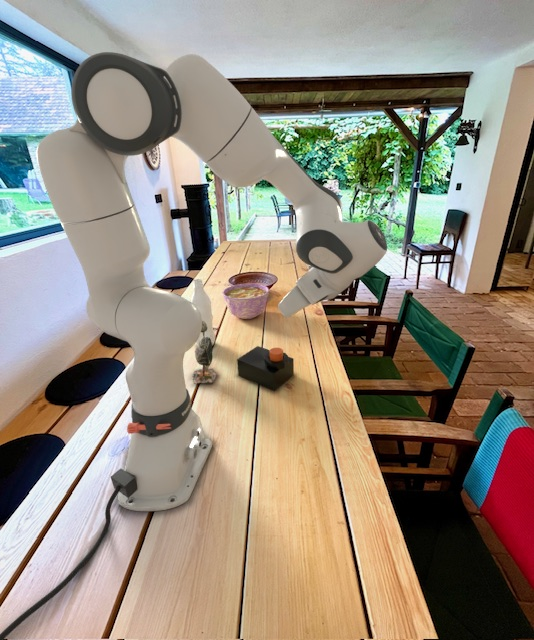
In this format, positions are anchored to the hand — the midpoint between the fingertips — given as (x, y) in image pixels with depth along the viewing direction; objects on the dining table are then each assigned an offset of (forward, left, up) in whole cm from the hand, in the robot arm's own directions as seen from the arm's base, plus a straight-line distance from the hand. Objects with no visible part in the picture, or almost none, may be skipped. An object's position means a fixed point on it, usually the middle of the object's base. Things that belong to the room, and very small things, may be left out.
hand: (291, 309), depth 84 cm
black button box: (+6, +8, -24) cm, 26 cm away
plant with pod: (+7, +27, -24) cm, 37 cm away
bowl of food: (+53, +16, -24) cm, 60 cm away
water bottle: (+27, +30, -24) cm, 47 cm away
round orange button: (+3, +4, -17) cm, 18 cm away
